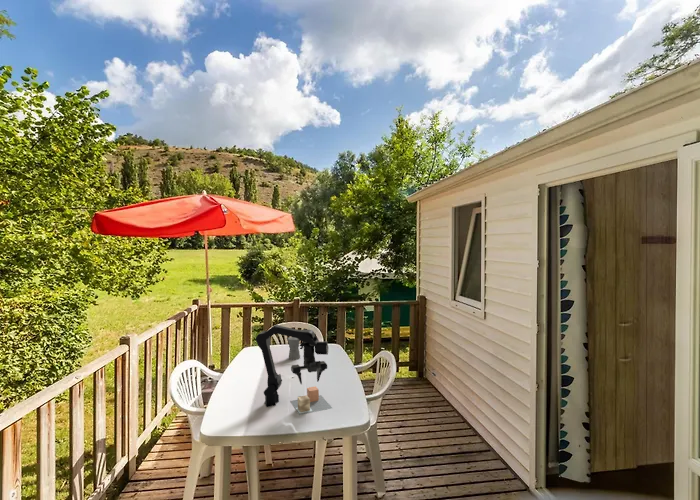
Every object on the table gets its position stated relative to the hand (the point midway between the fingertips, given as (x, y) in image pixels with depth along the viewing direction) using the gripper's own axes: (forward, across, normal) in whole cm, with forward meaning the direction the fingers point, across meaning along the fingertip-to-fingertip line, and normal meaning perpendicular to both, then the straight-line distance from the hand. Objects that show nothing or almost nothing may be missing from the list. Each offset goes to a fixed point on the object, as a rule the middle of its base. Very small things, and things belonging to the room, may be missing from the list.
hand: (309, 382), depth 199 cm
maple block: (+11, -5, -6) cm, 13 cm away
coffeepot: (+12, +11, +82) cm, 84 cm away
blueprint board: (+12, 0, -2) cm, 12 cm away
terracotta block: (+11, +3, +4) cm, 12 cm away
